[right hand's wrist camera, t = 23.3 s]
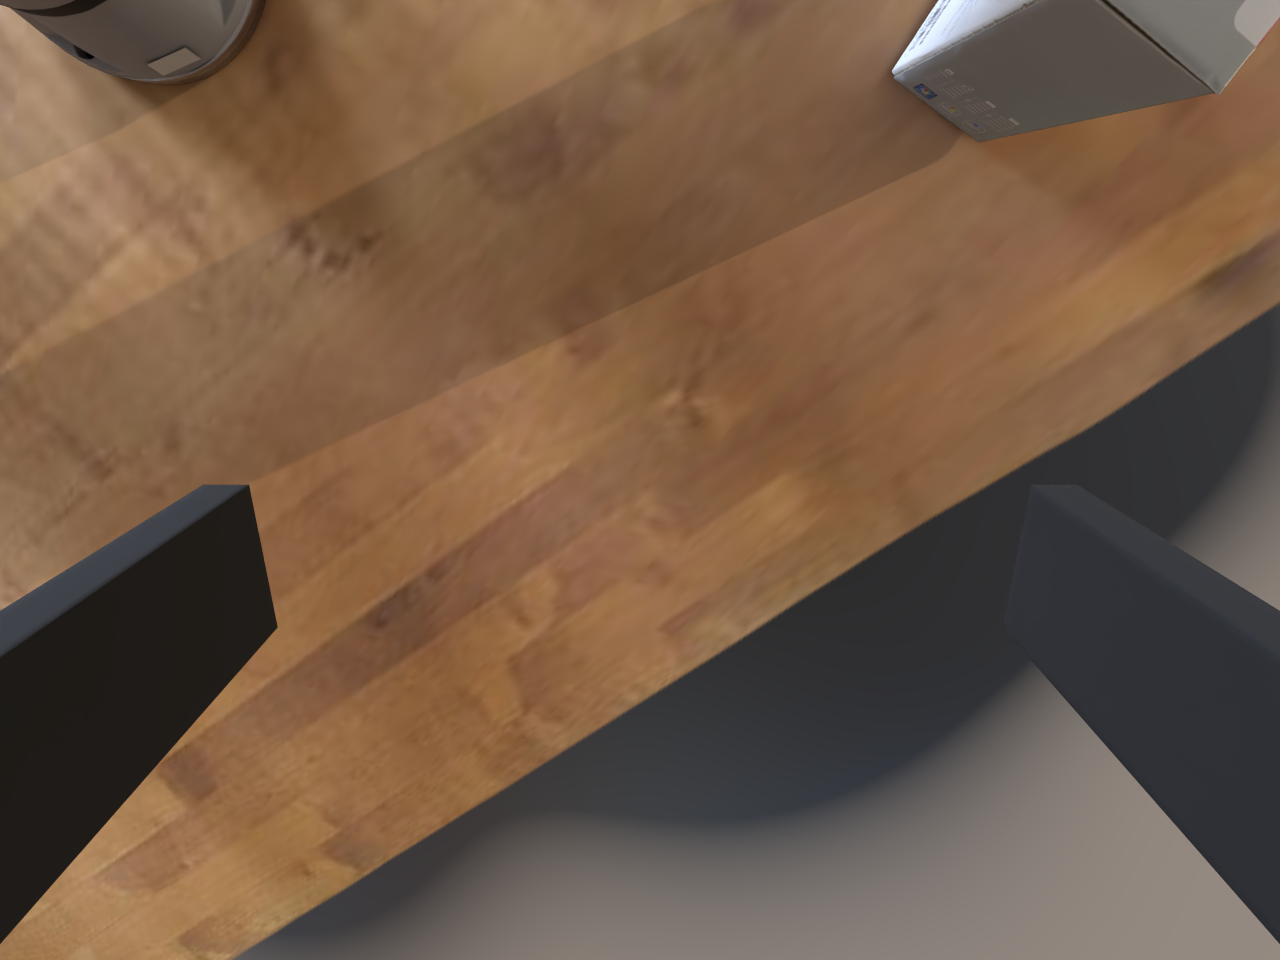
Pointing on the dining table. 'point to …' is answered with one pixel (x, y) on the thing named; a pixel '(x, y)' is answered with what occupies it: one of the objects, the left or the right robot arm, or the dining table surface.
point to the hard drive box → (1074, 58)
